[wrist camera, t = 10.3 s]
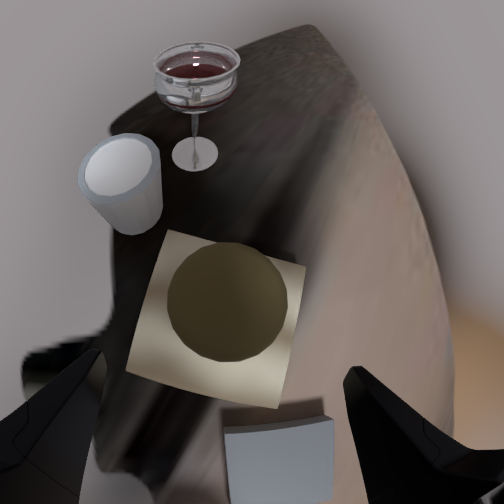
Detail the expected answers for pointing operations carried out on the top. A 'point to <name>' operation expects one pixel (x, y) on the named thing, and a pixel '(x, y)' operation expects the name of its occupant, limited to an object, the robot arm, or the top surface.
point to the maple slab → (199, 368)
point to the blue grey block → (280, 461)
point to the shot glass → (124, 182)
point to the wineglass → (195, 92)
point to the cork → (227, 302)
